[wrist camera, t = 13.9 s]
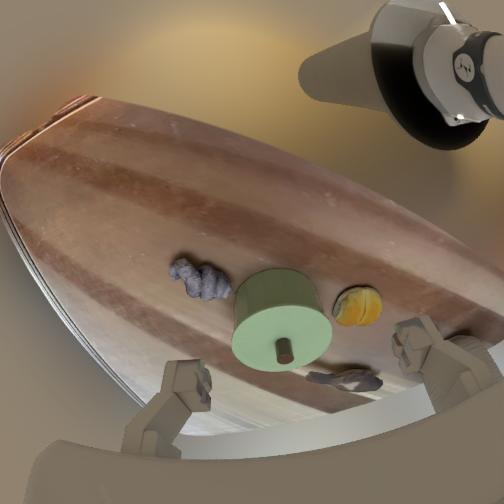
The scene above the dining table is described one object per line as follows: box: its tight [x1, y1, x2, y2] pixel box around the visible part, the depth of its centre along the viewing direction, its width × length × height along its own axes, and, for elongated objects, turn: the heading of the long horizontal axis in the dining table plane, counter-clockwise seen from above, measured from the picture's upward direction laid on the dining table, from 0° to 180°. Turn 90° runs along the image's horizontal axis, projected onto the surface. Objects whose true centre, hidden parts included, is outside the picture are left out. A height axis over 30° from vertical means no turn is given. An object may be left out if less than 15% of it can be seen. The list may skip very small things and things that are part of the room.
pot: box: [234, 269, 325, 330], centre depth 43 cm, size 14×14×8 cm
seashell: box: [169, 258, 234, 302], centre depth 41 cm, size 5×5×10 cm
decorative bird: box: [305, 369, 383, 392], centre depth 57 cm, size 6×25×5 cm, turn 62°
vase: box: [423, 335, 504, 413], centre depth 47 cm, size 20×20×34 cm
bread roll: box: [333, 287, 382, 326], centre depth 46 cm, size 8×9×4 cm
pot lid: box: [231, 303, 333, 372], centre depth 38 cm, size 15×15×4 cm
